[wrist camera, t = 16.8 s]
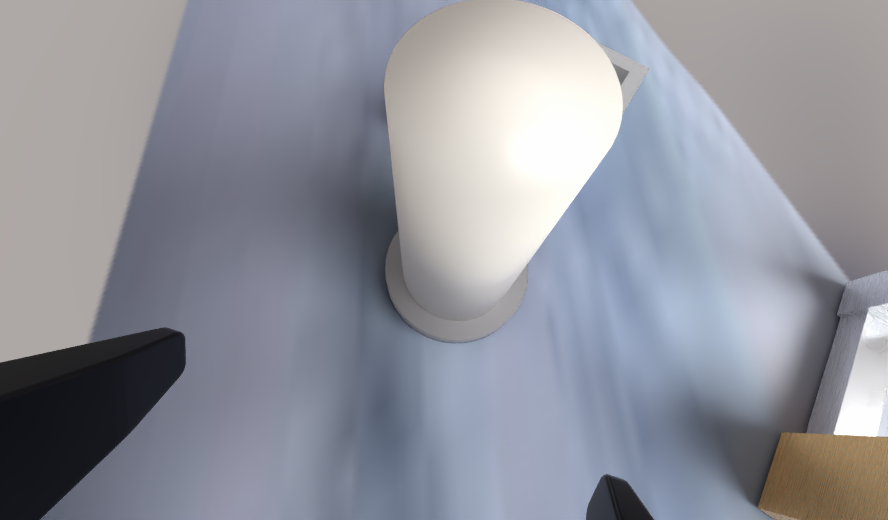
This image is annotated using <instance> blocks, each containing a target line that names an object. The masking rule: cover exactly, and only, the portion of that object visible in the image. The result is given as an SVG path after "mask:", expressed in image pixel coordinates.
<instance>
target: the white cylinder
mask: <svg viewBox="0 0 888 520" xmlns="http://www.w3.org/2000/svg"><path fill="white" fill-rule="evenodd" d="M384 95H385V105H386V115H387V124H388V134H389V143H390V153H391V162H392V172H393V182H394V191H395V201H396V210H397V220H398V229H399V230H398V231H397V233H396V234H395V236H394V237H393V239H392V241H391V244H390V246H389V249H388V252H387V256H386V263H385V275H386V282H387V286H388V290H389V294H390V298H391V300H392V302H393V305H394V307H395V308H396V310H397V312H398V313H399V315H400V316H401V317H402V318H403V320H404V321H405V322H406V323H407V324H408V325H409V326H410V327H412V328H413V329H414V330H416V331H417V332H419V333H420V334H422V335H424V336H426V337H428V338H431V339H433V340H437V341H441V342H446V343H466V342H472V341H476V340H479V339H482V338H484V337H486V336H488V335H490V334H492V333H493V332H495V331H497V330H498V329H499V328H500V327H501V326H503V325H504V324H505V322H506V321H507V320H508V319H509V318H510V317H511V316H512V315H513V314H514V313H515V311H516V310H517V308H518V307H519V305H520V303H521V301H522V299H523V297H524V294H525V291H526V287H527V282H528V264H527V263H528V262H529V261H530V259H531V258H532V257H533V255H534V254H535V252H536V251H537V250H538V248H539V247H540V245H541V244H542V243H543V241H544V240H545V238H546V237H547V236H548V234H549V233H550V231H551V230H552V229H553V227H554V226H555V224H556V223H557V222H558V220H559V219H560V218H561V216H562V215H563V213H564V212H565V211H566V209H567V208H568V206H569V205H570V204H571V202H572V201H573V199H574V198H575V197H576V195H577V194H578V192H579V191H580V190H581V188H582V187H583V185H584V184H585V183H586V181H587V180H588V179H589V177H590V176H591V174H592V173H593V172H594V170H595V169H596V167H597V166H598V165H599V163H600V162H601V160H602V159H603V158H604V156H605V155H606V153H607V152H608V150H609V149H610V148H611V146H612V144H613V142H614V140H615V138H616V136H617V134H618V131H619V128H620V124H621V120H622V111H623V100H622V92H621V87H620V82H619V79H618V77H617V74H616V71H615V69H614V67H613V65H612V63H611V61H610V59H609V58H608V57H607V55H606V54H605V52H604V51H603V49H602V48H601V47H600V46H599V45H598V44H597V42H596V41H595V40H594V39H593V38H592V37H591V36H590V35H589V34H587V33H586V32H585V31H584V30H583V29H582V28H580V27H579V26H578V25H576V24H575V23H573V22H572V21H570V20H569V19H567V18H565V17H563V16H562V15H560V14H558V13H556V12H553V11H551V10H549V9H547V8H544V7H541V6H538V5H535V4H532V3H527V2H523V1H518V0H468V1H462V2H458V3H455V4H451V5H448V6H446V7H443V8H441V9H438V10H436V11H434V12H432V13H431V14H429V15H427V16H425V17H424V18H422V19H421V20H420V21H418V22H417V23H416V24H414V25H413V26H412V27H411V28H410V29H409V30H408V31H407V32H406V33H405V34H404V35H403V37H402V38H401V39H400V41H399V42H398V43H397V45H396V47H395V48H394V50H393V52H392V54H391V56H390V59H389V62H388V65H387V68H386V73H385V79H384Z"/></svg>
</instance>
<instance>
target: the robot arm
mask: <svg viewBox="0 0 888 520" xmlns="http://www.w3.org/2000/svg"><path fill="white" fill-rule="evenodd" d="M185 365H186V349H185V336H184V334H183V333H181V332H179V331H176V330H173V329H170V328H159V329H154V330H149V331H145V332H140V333H135V334H131V335H126V336H122V337H117V338H112V339H108V340H103V341H98V342H94V343H89V344H85V345H80V346H75V347H71V348H66V349H62V350H57V351H52V352H48V353H43V354H38V355H34V356H29V357H24V358H20V359H15V360H11V361H6V362H1V363H0V520H40V519H41V518H42V517H43V516H44V515H45V514H46V513H47V512H48V511H49V510H50V509H51V508H53V507H54V506H55V505H56V504H57V503H58V502H59V501H60V500H61V499H62V498H63V497H64V496H65V495H66V494H67V493H68V492H69V491H70V490H71V489H72V488H73V487H74V486H76V485H77V484H78V483H79V482H80V481H81V480H82V479H83V478H84V477H85V476H86V475H87V474H88V473H89V472H90V471H91V470H92V469H93V468H94V467H95V466H96V465H97V464H99V463H100V462H101V461H102V460H103V459H104V458H105V457H106V456H107V455H108V454H109V453H110V452H111V451H112V450H113V449H114V448H115V447H116V446H117V445H118V444H119V443H120V442H121V441H122V440H123V439H124V438H125V437H126V436H127V435H128V434H129V433H130V432H131V431H132V430H133V429H134V428H135V427H136V426H137V425H138V424H139V423H140V421H141V420H142V419H143V418H144V417H145V416H146V415H147V413H148V412H149V411H150V410H151V409H152V408H153V407H154V405H155V404H156V403H157V402H158V401H159V400H160V399H161V397H162V396H163V395H164V394H165V393H166V392H167V391H168V389H169V388H170V387H171V386H172V385H173V384H174V383H175V381H176V380H177V379H178V378H179V377H180V376H181V374H182V373H183V371H184V368H185ZM586 520H654V519H653V518H652V516H651V515H650V513H649V512H648V510H647V509H646V508H645V506H644V505H643V503H642V502H641V500H640V499H639V497H638V496H637V495H636V493H635V492H634V490H633V489H632V487H631V486H630V485H629V483H628V482H627V481H625V480H623V479H620V478H617V477H614V476H611V475H608V474H606V475H603V476H602V477H601V479H600V481H599V483H598V485H597V487H596V489H595V491H594V493H593V496H592V498H591V500H590V502H589V505H588V508H587V514H586Z"/></svg>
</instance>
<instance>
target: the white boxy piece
mask: <svg viewBox="0 0 888 520" xmlns="http://www.w3.org/2000/svg"><path fill="white" fill-rule="evenodd" d="M837 316H839V317H841V318H840V321H839V325H838V328H837V331H836V335H835V338H834V341H833V344H832V348H831V351H830V354H829V358H828V361H827V364H826V368H825V371H824V374H823V378H822V381H821V384H820V387H819V391H818V394H817V397H816V401H815V404H814V407H813V411H812V414H811V417H810V421H809V424H808V427H807V430H806V433H788V432H782V433H781V437H780V440H779V443H778V446H777V449H776V452H775V455H774V458H773V461H772V465H771V468H770V471H769V474H768V477H767V480H766V483H765V486H764V490H763V493H762V496H761V499H760V502H759V505H758V509H760V510H761V511H763V512H764V513H766V514H768V515H769V516H771V517H772V518H774V519H776V520H888V437H876V435H877V431H878V427H879V423H880V419H881V415H882V411H883V407H884V403H885V399H886V394H887V390H888V270H886V271H882V272H879V273H876V274H873V275H869V276H866V277H863V278H860V279H856V280H853V281H850V282H847V283H846V287H845V290H844V293H843V296H842V300H841V303H840V306H839V309H838V313H837Z"/></svg>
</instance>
